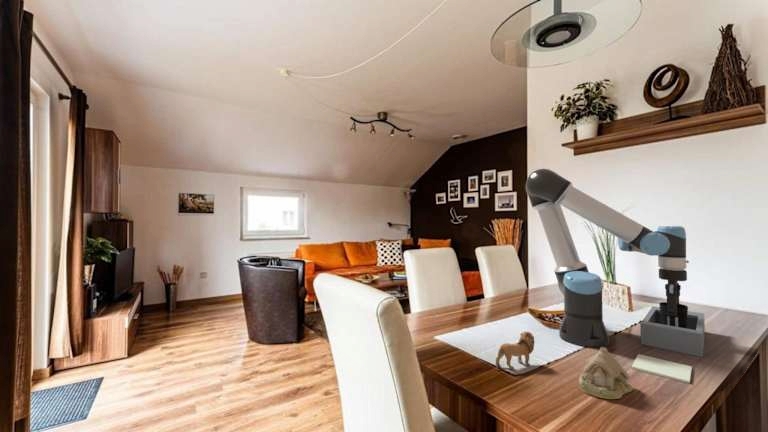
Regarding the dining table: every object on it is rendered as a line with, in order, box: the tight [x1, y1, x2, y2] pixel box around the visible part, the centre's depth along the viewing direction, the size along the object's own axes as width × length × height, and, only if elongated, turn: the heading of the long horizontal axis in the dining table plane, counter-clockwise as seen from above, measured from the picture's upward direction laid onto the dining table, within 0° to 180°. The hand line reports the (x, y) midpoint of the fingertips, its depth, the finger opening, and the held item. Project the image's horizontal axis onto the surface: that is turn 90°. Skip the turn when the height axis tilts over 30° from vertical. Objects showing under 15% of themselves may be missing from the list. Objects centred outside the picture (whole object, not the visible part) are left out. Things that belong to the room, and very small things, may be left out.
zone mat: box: [631, 353, 693, 384], centre depth 91 cm, size 12×12×1 cm
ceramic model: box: [578, 346, 634, 400], centre depth 81 cm, size 14×11×10 cm
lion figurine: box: [495, 331, 535, 370], centre depth 93 cm, size 15×5×9 cm, turn 117°
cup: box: [658, 301, 689, 328], centre depth 114 cm, size 8×8×12 cm
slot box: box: [640, 305, 706, 358], centre depth 115 cm, size 15×32×7 cm, turn 134°
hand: (674, 332), depth 114 cm, fingers closed on cup, 8 cm apart
